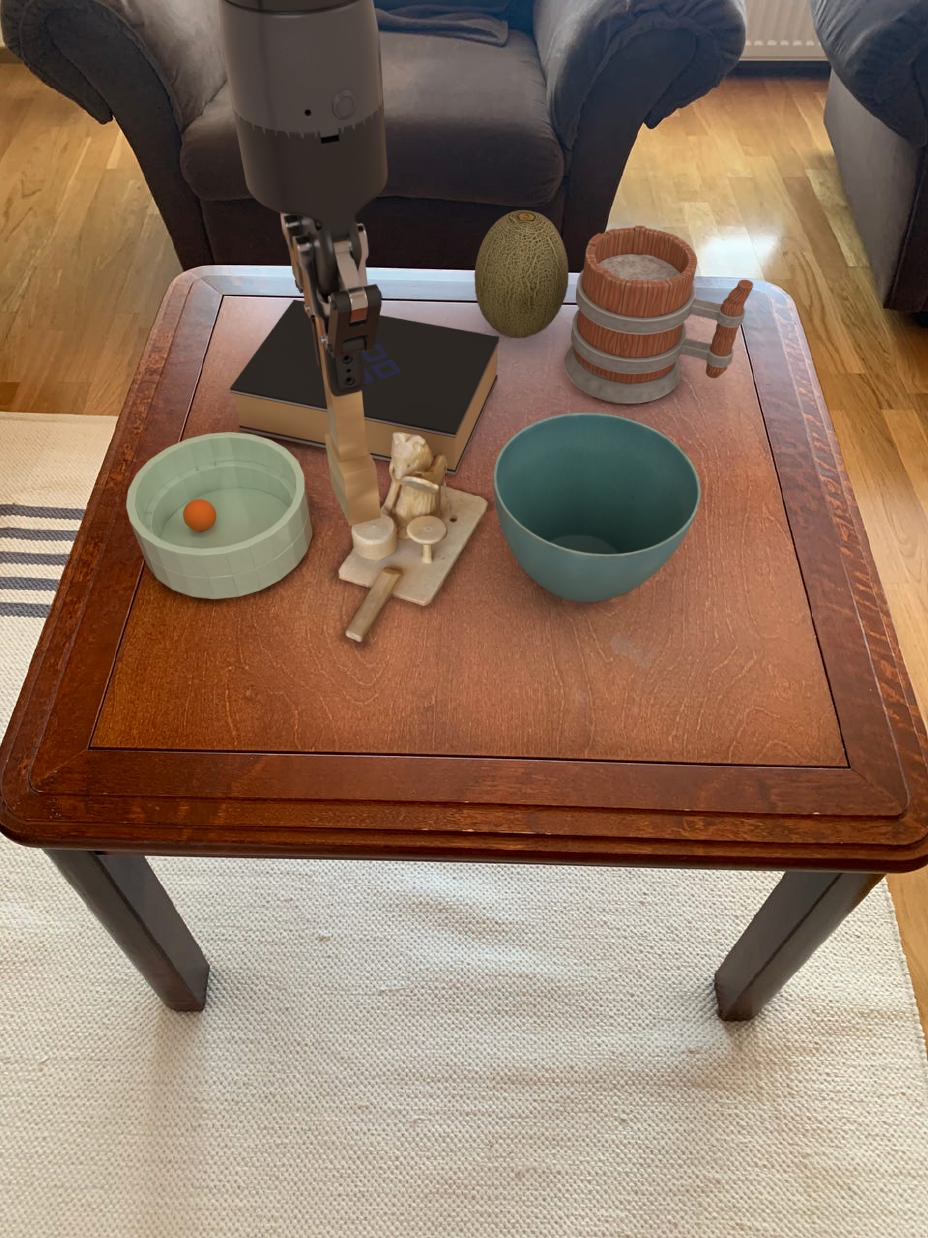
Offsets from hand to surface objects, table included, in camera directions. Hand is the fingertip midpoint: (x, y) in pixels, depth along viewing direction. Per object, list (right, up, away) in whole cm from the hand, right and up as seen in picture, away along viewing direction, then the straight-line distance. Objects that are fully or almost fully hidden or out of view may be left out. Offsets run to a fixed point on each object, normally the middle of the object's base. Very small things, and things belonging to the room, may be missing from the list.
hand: (341, 378), depth 59 cm
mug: (+29, +14, +51) cm, 60 cm away
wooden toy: (+2, -10, +32) cm, 34 cm away
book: (-3, +8, +46) cm, 47 cm away
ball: (-18, -5, +32) cm, 38 cm away
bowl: (-16, -8, +33) cm, 38 cm away
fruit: (+15, +21, +56) cm, 62 cm away
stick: (0, -7, +9) cm, 11 cm away
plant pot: (+20, -11, +31) cm, 39 cm away
